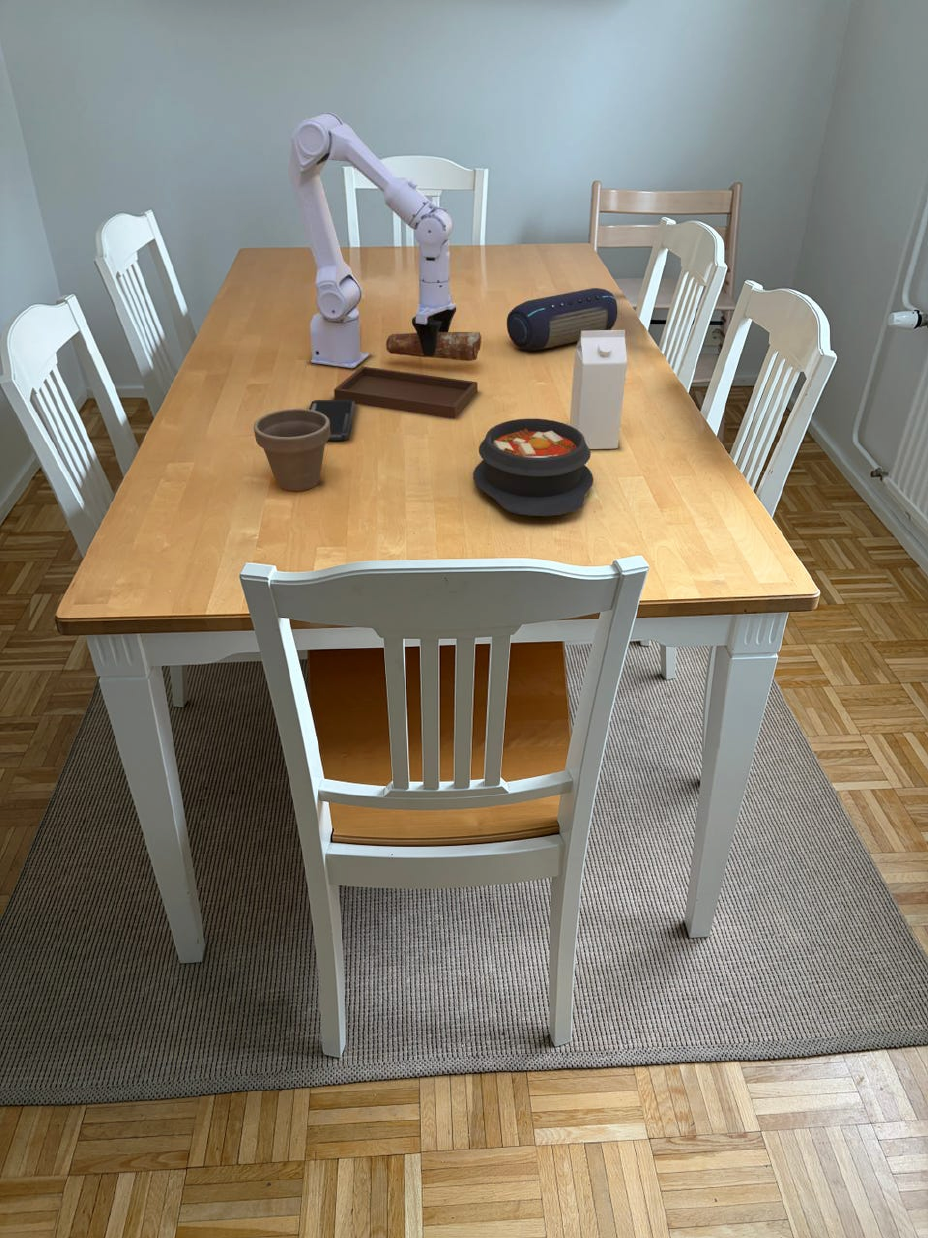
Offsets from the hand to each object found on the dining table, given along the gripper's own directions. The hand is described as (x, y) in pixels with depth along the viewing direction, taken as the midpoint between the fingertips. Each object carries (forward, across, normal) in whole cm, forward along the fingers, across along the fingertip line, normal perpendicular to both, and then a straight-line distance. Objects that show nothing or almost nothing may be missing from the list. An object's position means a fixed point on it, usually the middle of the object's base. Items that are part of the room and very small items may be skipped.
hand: (434, 349), depth 187 cm
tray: (+4, -15, 0) cm, 15 cm away
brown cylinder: (+2, -1, 0) cm, 2 cm away
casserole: (+4, -42, -32) cm, 53 cm away
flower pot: (+4, -53, +3) cm, 53 cm away
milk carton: (+4, -22, -37) cm, 43 cm away
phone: (+4, -31, +8) cm, 32 cm away
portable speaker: (+4, +24, -20) cm, 32 cm away
